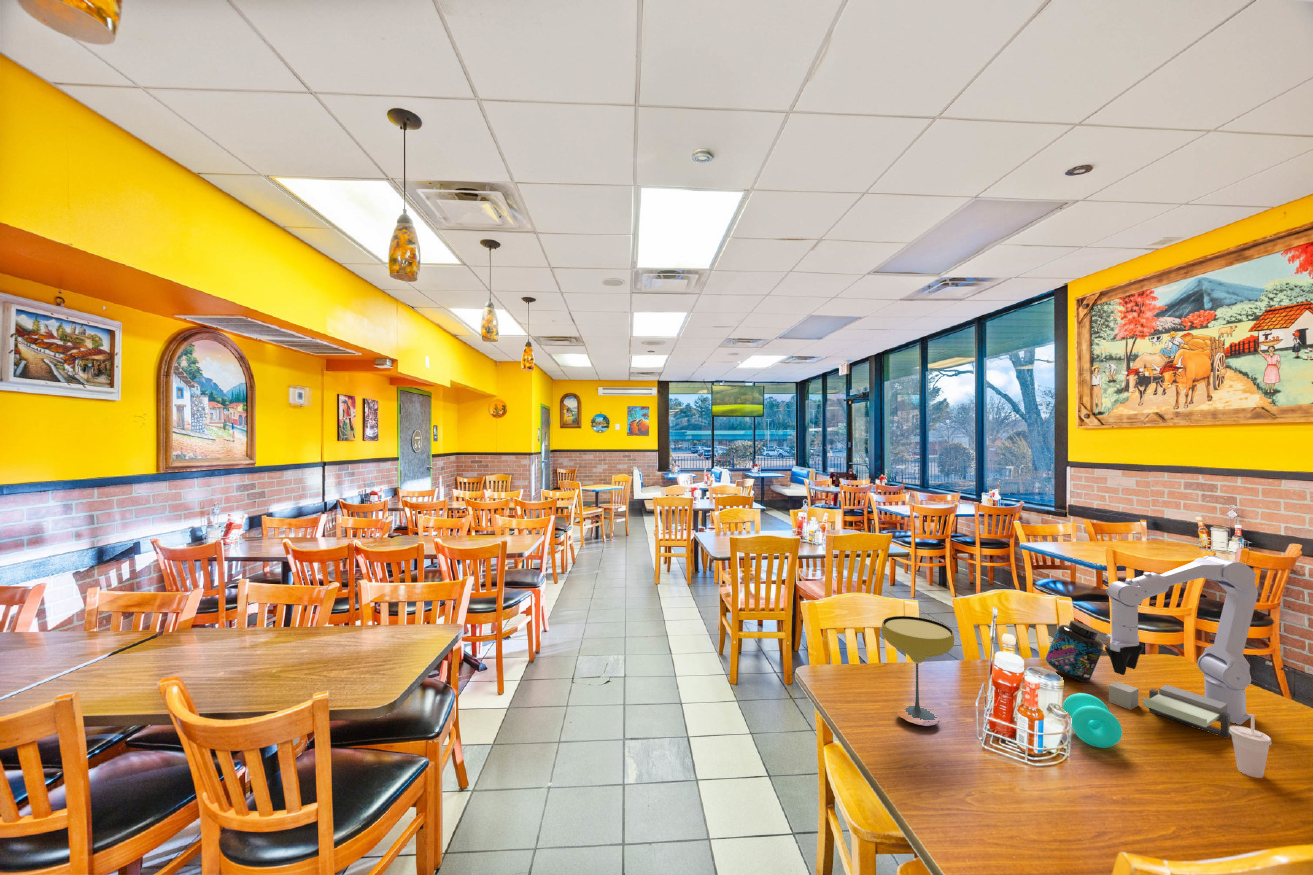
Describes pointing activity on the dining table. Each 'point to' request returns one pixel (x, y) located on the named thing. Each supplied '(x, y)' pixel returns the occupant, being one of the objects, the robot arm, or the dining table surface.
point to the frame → (1224, 723)
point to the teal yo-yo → (1093, 720)
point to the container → (1075, 650)
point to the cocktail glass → (918, 646)
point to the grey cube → (1123, 695)
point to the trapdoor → (1186, 705)
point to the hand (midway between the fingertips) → (1124, 670)
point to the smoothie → (1250, 749)
